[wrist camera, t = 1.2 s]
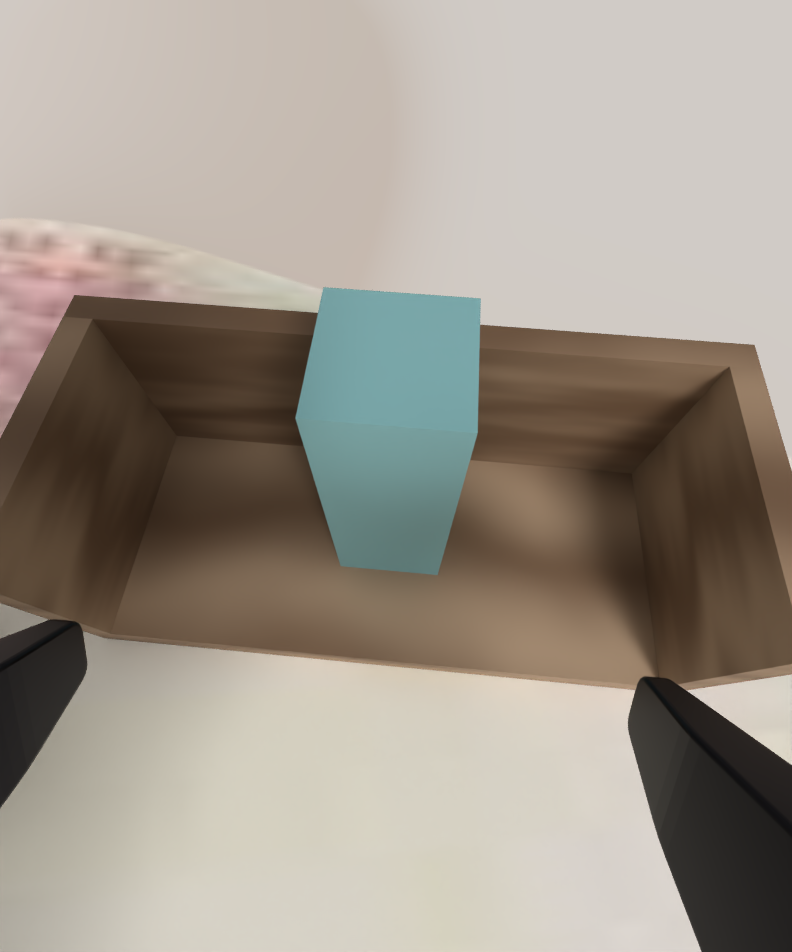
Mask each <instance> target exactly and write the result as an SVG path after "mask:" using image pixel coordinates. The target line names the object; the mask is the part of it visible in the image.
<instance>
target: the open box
mask: <svg viewBox="0 0 792 952" xmlns="http://www.w3.org/2000/svg"><path fill="white" fill-rule="evenodd" d="M317 316H318V313H311V312H298V311H284V310H270V309H257V308H243V307H230V306H216V305H202V304H189V303H175V302H161V301H148V300H134V299H120V298H107V297H93V296H79V295H74V297H73V299H72V301H71V303H70V305H69V307H68V309H67V311H66V313H65V315H64V316H63V318H62V320H61V322H60V324H59V326H58V328H57V330H56V332H55V334H54V336H53V338H52V340H51V342H50V343H49V345H48V347H47V349H46V351H45V353H44V355H43V357H42V359H41V361H40V363H39V365H38V367H37V369H36V371H35V372H34V374H33V376H32V378H31V380H30V382H29V384H28V386H27V388H26V390H25V392H24V394H23V396H22V398H21V400H20V401H19V403H18V405H17V407H16V409H15V411H14V413H13V415H12V417H11V419H10V421H9V423H8V425H7V427H6V428H5V430H4V432H3V434H2V436H1V438H0V603H2V604H5V605H8V606H11V607H14V608H17V609H20V610H23V611H26V612H29V613H32V614H35V615H38V616H41V617H44V618H47V619H50V620H52V619H59V620H69V621H76V622H78V623H79V624H80V625H81V627H82V630H83V631H85V632H88V633H91V634H94V635H97V636H100V637H103V638H110V639H120V640H131V641H141V642H151V643H161V644H172V645H182V646H192V647H202V648H212V649H223V650H233V651H243V652H253V653H264V654H274V655H284V656H294V657H305V658H315V659H325V660H335V661H345V662H356V663H366V664H376V665H386V666H397V667H407V668H417V669H427V670H438V671H448V672H458V673H468V674H479V675H489V676H499V677H509V678H519V679H530V680H540V681H550V682H560V683H571V684H581V685H591V686H601V687H612V688H622V689H632V690H636V687H637V683H638V681H639V680H640V678H642V677H644V676H650V677H661V678H668V679H670V680H672V681H673V682H675V683H676V684H678V685H679V686H681V687H682V688H683V689H685V690H691V689H698V688H705V687H711V686H718V685H724V684H731V683H738V682H744V681H751V680H757V679H764V678H770V677H777V676H784V675H790V674H792V471H791V467H790V464H789V461H788V457H787V454H786V451H785V447H784V444H783V441H782V437H781V434H780V430H779V427H778V423H777V420H776V417H775V413H774V410H773V406H772V403H771V400H770V396H769V393H768V389H767V386H766V383H765V379H764V376H763V372H762V369H761V366H760V363H759V359H758V355H757V352H756V349H755V346H754V345H748V344H734V343H720V342H707V341H706V342H705V341H692V340H680V339H666V338H652V337H639V336H625V335H612V334H598V333H584V332H570V331H556V330H543V329H530V328H516V327H501V326H488V325H480V349H479V395H478V434H477V437H476V441H475V444H474V448H473V451H472V455H471V458H470V462H469V466H468V469H467V473H466V476H465V480H464V483H463V487H462V490H461V494H460V497H459V501H458V504H457V508H456V512H455V515H454V519H453V522H452V526H451V529H450V533H449V536H448V540H447V543H446V547H445V550H444V554H443V558H442V561H441V565H440V568H439V572H438V575H432V574H421V573H410V572H399V571H388V570H377V569H366V568H355V567H344V566H340V562H339V559H338V556H337V553H336V549H335V546H334V543H333V540H332V536H331V533H330V530H329V526H328V523H327V520H326V517H325V513H324V510H323V507H322V504H321V500H320V497H319V494H318V491H317V487H316V484H315V481H314V478H313V474H312V471H311V468H310V464H309V461H308V458H307V455H306V451H305V448H304V445H303V442H302V438H301V435H300V432H299V429H298V425H297V422H296V419H295V418H296V413H297V408H298V404H299V399H300V395H301V390H302V385H303V381H304V376H305V371H306V367H307V362H308V357H309V353H310V348H311V344H312V339H313V334H314V330H315V325H316V320H317Z"/></svg>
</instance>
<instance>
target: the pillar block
mask: <svg viewBox="0 0 792 952" xmlns="http://www.w3.org/2000/svg"><path fill="white" fill-rule="evenodd" d="M480 303H481V299H479V298H466V297H452V296H437V295H424V294H410V293H396V292H380V291H368V290H353V289H339V288H326V287H325V288H323V293H322V297H321V302H320V306H319V311H318V316H317V320H316V325H315V330H314V334H313V339H312V344H311V348H310V353H309V357H308V362H307V367H306V371H305V376H304V381H303V385H302V390H301V395H300V399H299V404H298V408H297V413H296V418H295V419H296V422H297V425H298V429H299V432H300V435H301V438H302V442H303V445H304V448H305V451H306V455H307V458H308V461H309V464H310V468H311V471H312V474H313V478H314V481H315V484H316V487H317V491H318V494H319V497H320V500H321V504H322V507H323V510H324V513H325V517H326V520H327V523H328V526H329V530H330V533H331V536H332V540H333V543H334V546H335V549H336V553H337V556H338V559H339V562H340V566H344V567H355V568H366V569H377V570H388V571H399V572H410V573H421V574H432V575H438V572H439V568H440V565H441V561H442V558H443V554H444V550H445V547H446V543H447V540H448V536H449V533H450V529H451V526H452V522H453V519H454V515H455V512H456V508H457V504H458V501H459V497H460V494H461V490H462V487H463V483H464V480H465V476H466V473H467V469H468V466H469V462H470V458H471V455H472V451H473V448H474V444H475V441H476V437H477V434H478V395H479V349H480Z"/></svg>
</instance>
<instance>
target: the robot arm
mask: <svg viewBox="0 0 792 952" xmlns="http://www.w3.org/2000/svg"><path fill="white" fill-rule="evenodd" d="M86 670H87V658H86V651H85V644H84V637H83V630H82V627H81V625H80V624H79V623H78V622H76V621H69V620H59V619H52V620H48V621H45V622H43V623H40V624H38V625H35V626H32V627H30V628H27V629H25V630H22V631H19V632H17V633H14V634H11V635H9V636H6V637H4V638H1V639H0V808H1V806H2V805H3V804H4V802H5V801H6V800H7V798H8V797H9V795H10V794H11V793H12V791H13V790H14V789H15V787H16V786H17V784H18V783H19V782H20V780H21V779H22V777H23V776H24V774H25V773H26V772H27V770H28V769H29V767H30V765H31V764H32V762H33V761H34V759H35V758H36V756H37V755H38V753H39V751H40V750H41V748H42V746H43V745H44V743H45V742H46V740H47V738H48V737H49V735H50V733H51V732H52V730H53V728H54V727H55V725H56V723H57V722H58V720H59V718H60V717H61V715H62V713H63V712H64V710H65V709H66V707H67V705H68V704H69V702H70V700H71V699H72V697H73V695H74V694H75V692H76V690H77V689H78V687H79V685H80V684H81V682H82V680H83V678H84V676H85V674H86ZM628 730H629V735H630V739H631V743H632V746H633V750H634V754H635V757H636V761H637V764H638V768H639V772H640V775H641V779H642V782H643V786H644V790H645V793H646V797H647V800H648V804H649V808H650V811H651V815H652V819H653V822H654V825H655V828H656V832H657V835H658V838H659V841H660V844H661V846H662V849H663V852H664V855H665V858H666V860H667V863H668V865H669V868H670V871H671V873H672V876H673V878H674V881H675V884H676V886H677V889H678V891H679V894H680V897H681V899H682V902H683V904H684V907H685V910H686V912H687V915H688V917H689V920H690V923H691V925H692V928H693V930H694V933H695V936H696V938H697V941H698V944H699V946H700V949H701V951H702V952H792V765H791V764H789V763H788V762H786V761H785V760H784V759H782V758H781V757H779V756H778V755H777V754H775V753H774V752H772V751H771V750H770V749H768V748H767V747H765V746H764V745H762V744H761V743H760V742H758V741H757V740H755V739H754V738H753V737H751V736H750V735H748V734H747V733H746V732H744V731H743V730H741V729H740V728H738V727H737V726H736V725H734V724H733V723H731V722H730V721H729V720H727V719H726V718H724V717H723V716H722V715H720V714H719V713H717V712H716V711H714V710H713V709H712V708H710V707H709V706H707V705H706V704H705V703H703V702H702V701H700V700H699V699H698V698H696V697H695V696H693V695H692V694H690V693H689V692H688V691H686V690H685V689H683V688H682V687H681V686H679V685H678V684H676V683H675V682H673V681H672V680H670V679H668V678H661V677H650V676H644V677H642V678H640V680H639V681H638V683H637V687H636V690H635V694H634V698H633V702H632V705H631V709H630V713H629V717H628Z"/></svg>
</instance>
